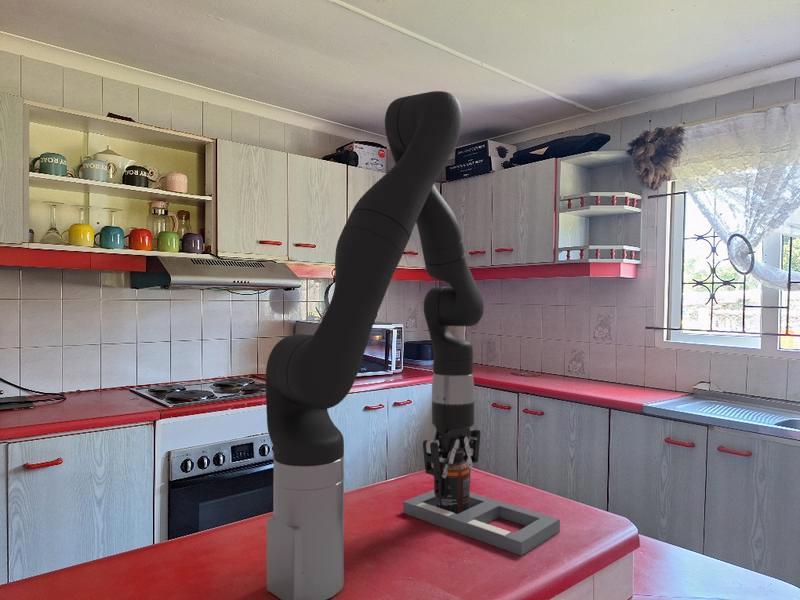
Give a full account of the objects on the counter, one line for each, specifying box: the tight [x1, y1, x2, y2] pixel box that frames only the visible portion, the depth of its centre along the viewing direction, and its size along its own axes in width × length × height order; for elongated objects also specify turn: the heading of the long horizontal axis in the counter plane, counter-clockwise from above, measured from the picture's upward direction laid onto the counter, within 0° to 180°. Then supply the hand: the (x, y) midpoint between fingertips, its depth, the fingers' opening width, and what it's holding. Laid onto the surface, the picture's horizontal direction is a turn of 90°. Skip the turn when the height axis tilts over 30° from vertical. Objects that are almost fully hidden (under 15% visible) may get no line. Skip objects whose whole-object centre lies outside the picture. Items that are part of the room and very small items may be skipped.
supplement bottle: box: [436, 449, 470, 514], centre depth 98 cm, size 6×6×11 cm
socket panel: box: [402, 489, 561, 556], centre depth 95 cm, size 12×24×2 cm, turn 47°
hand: (452, 492), depth 98 cm, fingers closed on supplement bottle, 6 cm apart
